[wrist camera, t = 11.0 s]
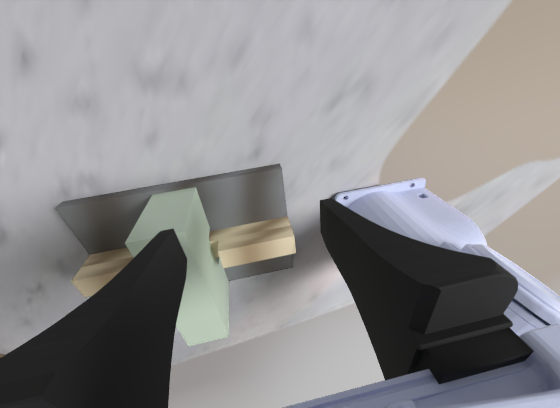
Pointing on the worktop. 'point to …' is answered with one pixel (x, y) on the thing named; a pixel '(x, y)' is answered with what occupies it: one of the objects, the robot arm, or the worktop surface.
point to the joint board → (220, 215)
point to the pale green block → (189, 263)
